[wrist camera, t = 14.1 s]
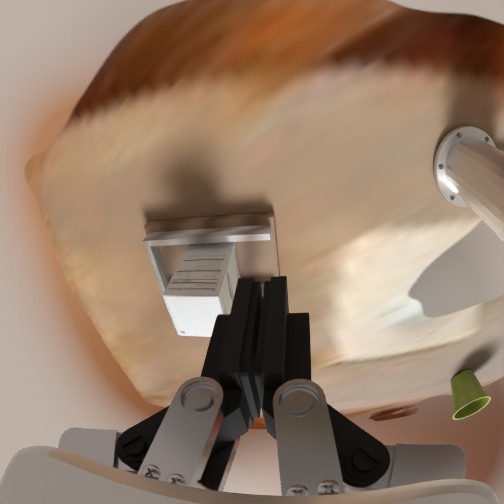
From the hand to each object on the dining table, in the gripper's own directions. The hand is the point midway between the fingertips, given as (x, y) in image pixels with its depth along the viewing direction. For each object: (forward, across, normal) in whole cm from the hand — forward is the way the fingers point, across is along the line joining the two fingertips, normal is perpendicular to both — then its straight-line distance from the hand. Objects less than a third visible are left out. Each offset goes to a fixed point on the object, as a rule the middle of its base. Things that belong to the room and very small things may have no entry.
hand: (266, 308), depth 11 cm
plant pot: (+31, -48, +62) cm, 84 cm away
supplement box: (+30, +12, +18) cm, 37 cm away
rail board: (+31, +12, +18) cm, 38 cm away
